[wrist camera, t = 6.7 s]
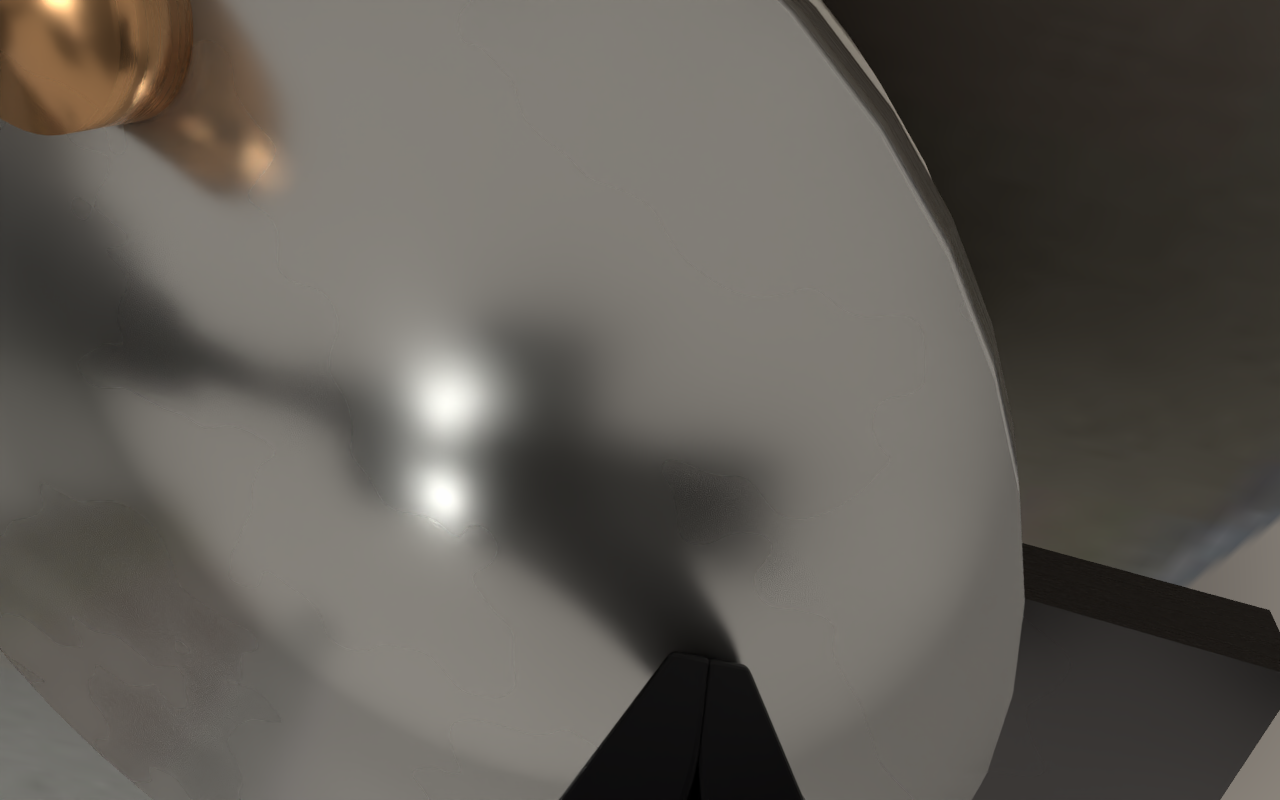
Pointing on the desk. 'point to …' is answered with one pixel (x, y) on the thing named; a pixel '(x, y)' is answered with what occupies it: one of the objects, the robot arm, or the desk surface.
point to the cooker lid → (533, 417)
